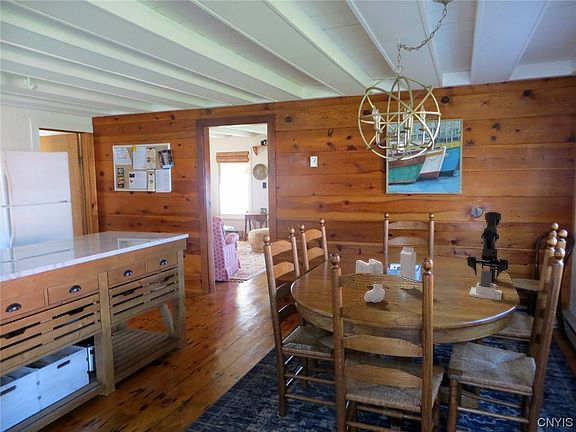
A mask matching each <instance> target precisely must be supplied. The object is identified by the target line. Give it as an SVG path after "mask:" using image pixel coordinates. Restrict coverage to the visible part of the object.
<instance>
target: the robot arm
mask: <svg viewBox="0 0 576 432" xmlns="http://www.w3.org/2000/svg"><path fill="white" fill-rule="evenodd" d="M484 221H485V223H486V227H485V228H484V229H483V232H481V240H482V244H483V245H482V252H481V256H480V258H481V259H477V256H471V255H470V256H467V259H466V263H467V266H468V267H470V268H471V269H472V270H473V273H474V276H475V277H477V275H478V271H477V269H478V268H477V264H478V265H481V270H482V269H483V267H484V266H490V270H492V272H491V282H495V281H497V280H499V277H500V275H501V274H502V272H505V271H507V270H509V263H510V261H509V259H504V258H499V259H498V252H499V251H498V250H499V249H498V248H496V243H497V241H499V239H500V234H499V233H498V229H497V228H498V227H499V225H500V222H501V221H502V213H500V212H497V211H488V212H485V213H484Z"/></svg>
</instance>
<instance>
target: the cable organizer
mask: <svg viewBox="0 0 576 432" xmlns="http://www.w3.org/2000/svg"><path fill="white" fill-rule="evenodd" d="M356 273H371V274H383V275H384V265H383V262H381V261H379V260H376V259H374V258H369V259H368V262H365V261H364V260H361V259H358V260H355V274H356Z"/></svg>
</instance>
